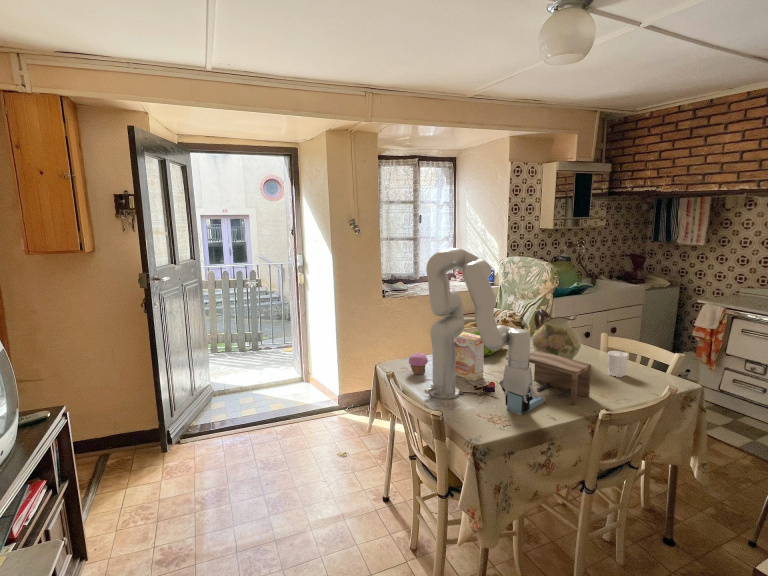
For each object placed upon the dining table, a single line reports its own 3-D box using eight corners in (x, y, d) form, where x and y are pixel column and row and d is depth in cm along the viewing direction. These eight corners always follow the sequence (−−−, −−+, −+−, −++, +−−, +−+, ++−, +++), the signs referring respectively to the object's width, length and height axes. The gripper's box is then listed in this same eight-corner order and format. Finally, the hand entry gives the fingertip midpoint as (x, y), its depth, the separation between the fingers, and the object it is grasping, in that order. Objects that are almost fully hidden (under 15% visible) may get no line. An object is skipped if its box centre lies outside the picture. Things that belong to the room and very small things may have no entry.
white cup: (621, 379, 184) (623, 357, 182) (603, 374, 190) (604, 353, 188) (629, 374, 189) (630, 353, 187) (610, 370, 195) (612, 349, 193)
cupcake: (430, 371, 198) (430, 351, 196) (423, 378, 190) (423, 357, 189) (413, 369, 202) (413, 349, 200) (405, 375, 194) (405, 354, 193)
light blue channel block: (520, 415, 154) (521, 397, 153) (507, 409, 158) (507, 392, 157) (544, 402, 164) (545, 385, 162) (530, 397, 168) (531, 381, 167)
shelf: (574, 405, 160) (576, 372, 158) (519, 386, 179) (520, 356, 176) (589, 396, 168) (591, 364, 165) (535, 379, 186) (536, 350, 184)
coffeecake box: (448, 373, 196) (448, 333, 193) (457, 369, 201) (457, 329, 197) (474, 381, 185) (475, 339, 182) (483, 377, 190) (484, 336, 187)
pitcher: (577, 372, 193) (580, 319, 189) (524, 364, 205) (526, 314, 201) (581, 358, 212) (584, 310, 208) (533, 351, 224) (535, 306, 220)
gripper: (492, 359, 158) (491, 403, 161) (534, 371, 145) (532, 419, 148) (504, 354, 163) (503, 397, 166) (545, 366, 150) (543, 412, 153)
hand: (517, 407), depth 157 cm, fingers open, 6 cm apart
